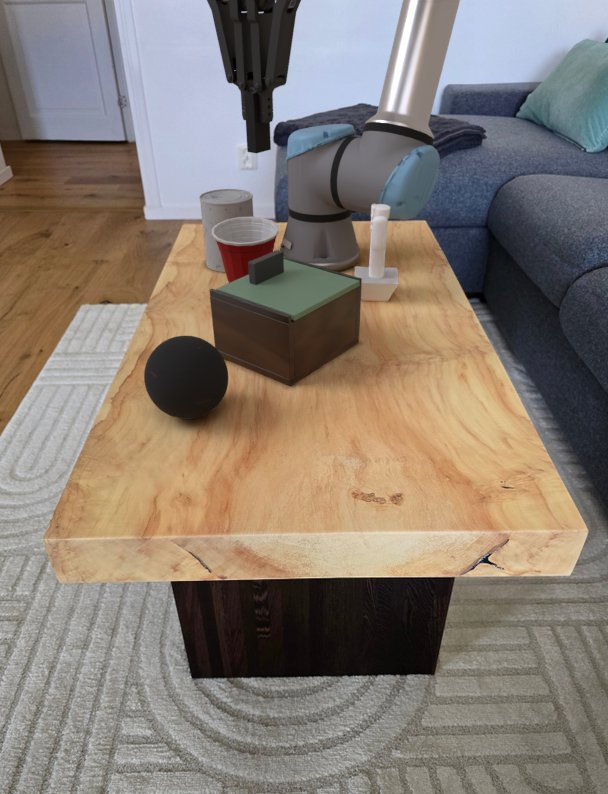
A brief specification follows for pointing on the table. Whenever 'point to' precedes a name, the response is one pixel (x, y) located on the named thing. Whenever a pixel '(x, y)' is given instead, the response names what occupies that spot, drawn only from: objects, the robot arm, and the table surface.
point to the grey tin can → (221, 218)
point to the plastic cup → (243, 243)
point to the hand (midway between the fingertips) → (259, 150)
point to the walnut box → (285, 333)
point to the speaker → (186, 377)
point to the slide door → (288, 285)
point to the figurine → (377, 260)
